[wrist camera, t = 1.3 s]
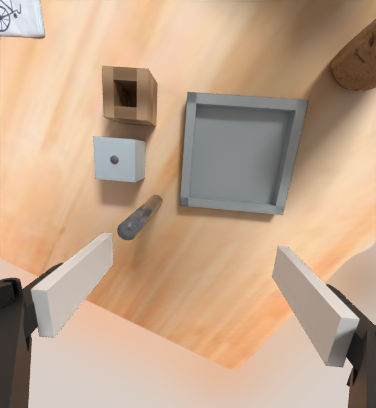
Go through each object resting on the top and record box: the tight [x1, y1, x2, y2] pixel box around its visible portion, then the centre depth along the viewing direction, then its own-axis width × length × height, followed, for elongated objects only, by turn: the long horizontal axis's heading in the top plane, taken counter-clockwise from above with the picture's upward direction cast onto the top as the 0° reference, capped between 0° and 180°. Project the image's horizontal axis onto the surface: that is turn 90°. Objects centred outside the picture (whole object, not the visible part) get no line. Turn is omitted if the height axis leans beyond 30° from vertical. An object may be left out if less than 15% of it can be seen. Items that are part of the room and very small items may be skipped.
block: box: [93, 136, 145, 182], centre depth 34 cm, size 7×7×6 cm
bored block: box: [102, 66, 157, 126], centre depth 31 cm, size 7×7×6 cm
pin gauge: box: [117, 195, 162, 240], centre depth 31 cm, size 2×2×16 cm
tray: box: [180, 92, 308, 215], centre depth 34 cm, size 20×20×2 cm
